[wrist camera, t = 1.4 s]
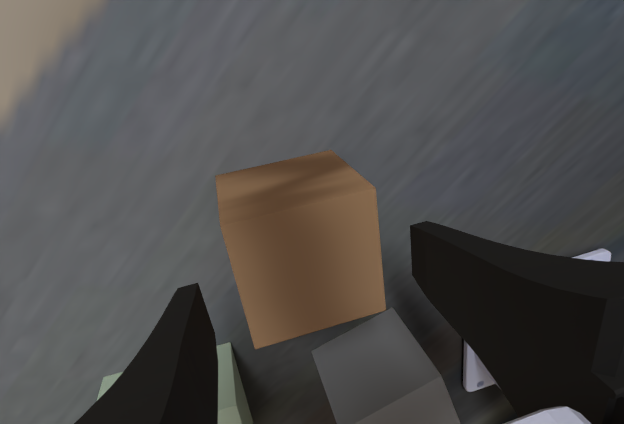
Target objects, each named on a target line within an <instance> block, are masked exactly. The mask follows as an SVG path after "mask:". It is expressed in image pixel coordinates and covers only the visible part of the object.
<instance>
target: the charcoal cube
mask: <svg viewBox="0 0 624 424" xmlns="http://www.w3.org/2000/svg"><path fill="white" fill-rule="evenodd" d="M311 352H312V355H313V358H314V361H315V363H316V366H317V369H318V372H319V375H320V378H321V380H322V383H323V386H324V389H325V392H326V394H327V397H328V400H329V403H330V406H331V409H332V411H333V414H334V417H335V420H336V423H337V424H460V421H459V419H458V416H457V414H456V411H455V409H454V406H453V403H452V401H451V398H450V396H449V393H448V391H447V388H446V386H445V383H444V381H443V378H442V376H441V374H440V373H439V371H438V370H437V369H436V367H435V366H434V364H433V363H432V362H431V360H430V359H429V357H428V356H427V355H426V353H425V352H424V350H423V349H422V348H421V346H420V345H419V343H418V342H417V341H416V339H415V338H414V336H413V335H412V334H411V332H410V331H409V329H408V328H407V327H406V325H405V324H404V322H403V321H402V320H401V318H400V317H399V315H398V314H397V313H396V311H395V310H394V308H393V307H392V308H390V309H388V310H386V311H384V312H383V313H381V314H379V315H377V316H375V317H373V318H372V319H370V320H368V321H366V322H364V323H362V324H360V325H359V326H357V327H355V328H353V329H351V330H349V331H347V332H346V333H344V334H342V335H340V336H338V337H336V338H334V339H333V340H331V341H329V342H327V343H325V344H323V345H321V346H320V347H318V348H316V349H314V350H312V351H311Z"/></svg>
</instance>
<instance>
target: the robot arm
mask: <svg viewBox="0 0 624 424" xmlns="http://www.w3.org/2000/svg"><path fill="white" fill-rule="evenodd" d="M410 234H411V256H412V275H413V277H414V278H415V280H416V282H417V283H418V285H419V286H420V288H421V289H422V291H423V292H424V294H425V295H426V297H427V298H428V299H429V301H430V302H431V303H432V304H433V305H434V306H435V308H436V309H437V310H438V311H439V312H440V313H441V314H442V316H443V317H444V318H445V319H446V320H447V321H448V322H449V323H450V325H451V326H452V327H453V328H454V329H455V330H456V331H457V333H458V334H459V335H460V336H461V337H462V338H463V339H464V363H463V387H464V388H465V389H466V391H468V392H473V391H476V390H479V389H482V388H484V387H487V386H490V385H493V384H496V385H497V386H498V387H499V388H500V389H501V391H502V392H503V393H504V395H505V396H506V398H507V399H508V401H509V402H510V404H511V405H512V407H513V408H514V410H515V411H516V413H517V414H518V416H519V418H517V419H514V420H512V421H509V422H507V423H504V424H624V262H610V259H611V253H610V252H609V251H607V250H605V249H599V250H595V251H592V252H589V253H585V254H582V255H579V256H576V257H572V258H570V257H562V256H556V255H549V254H544V253H539V252H534V251H529V250H524V249H520V248H516V247H512V246H508V245H504V244H501V243H497V242H493V241H490V240H486V239H483V238H480V237H477V236H474V235H470V234H467V233H464V232H461V231H458V230H455V229H452V228H449V227H446V226H443V225H439V224H436V223H432V222H428V221H425V222H422V223H418V224H414V225H410ZM74 424H218V355H217V347H216V339H215V332H214V329H213V326H212V323H211V320H210V317H209V315H208V312H207V309H206V306H205V303H204V300H203V297H202V294H201V291H200V288H199V285H198V283H196V284H192V285H188V286H184V287H181V288H178V289H177V291H176V292H175V294H174V295H173V297H172V299H171V301H170V303H169V304H168V306H167V308H166V310H165V311H164V313H163V315H162V317H161V318H160V320H159V321H158V323H157V325H156V326H155V328H154V330H153V331H152V333H151V334H150V336H149V338H148V339H147V341H146V342H145V343H144V345H143V346H142V348H141V349H140V351H139V352H138V353H137V355H136V356H135V358H134V359H133V360H132V362H131V363H130V364H129V366H128V367H127V368H126V369H125V370H124V372H123V373H122V374H121V375H120V376H119V378H118V379H117V380H116V381H115V382H114V383H113V385H112V386H111V387H110V388H109V389H108V390H107V391H106V392H105V393H104V394H103V395H102V396H101V397H100V398H99V399H98V400H97V401H96V402H95V404H94V405H93V406H92V407H91V408H90V409H89V410H88V411H87V412H86V413H85V414H84V415H83V416H82V417H81V418H80V419H79V420H78V421H76V422H75V423H74Z"/></svg>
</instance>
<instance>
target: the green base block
mask: <svg viewBox="0 0 624 424" xmlns="http://www.w3.org/2000/svg"><path fill="white" fill-rule="evenodd" d="M216 347H217V355H218V424H253V420H252V417H251V413H250V410H249V406H248V403H247V399H246V395H245V392H244V388H243V385H242V381H241V378H240V374H239V371H238V367H237V364H236V360H235V357H234V353H233V350H232V346H231V343H230V342H229V343H225V344H222V345H218V346H216ZM122 373H123V372H121V373H117V374H113V375H110V376H106V377H104V378H103V381H102V385H101V388H100V392H99V395H98V398H97V400H98V399H99V398H100V397H101V396H102V395H103V394H104V393H105V392H106V391H107V390H108V389H109V388H110V387H111V386H112V385H113V383H114V382H115V381H116V380H117V379H118V378H119V376H120V375H121V374H122Z"/></svg>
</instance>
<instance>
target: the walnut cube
mask: <svg viewBox="0 0 624 424" xmlns="http://www.w3.org/2000/svg"><path fill="white" fill-rule="evenodd" d="M215 177H216V187H217V197H218V208H219V218H220V227H221V230H222V234H223V237H224V241H225V244H226V248H227V251H228V255H229V258H230V262H231V266H232V269H233V273H234V276H235V280H236V283H237V287H238V290H239V294H240V297H241V301H242V305H243V308H244V312H245V315H246V319H247V322H248V326H249V329H250V333H251V336H252V340H253V343H254V347H255V349H258V348H261V347H265V346H268V345H271V344H275V343H278V342H281V341H285V340H288V339H291V338H295V337H298V336H302V335H305V334H308V333H312V332H315V331H318V330H322V329H325V328H328V327H332V326H335V325H338V324H342V323H345V322H348V321H352V320H355V319H358V318H362V317H365V316H368V315H372V314H375V313H378V312H382V311H385V310H386V305H385V294H384V282H383V270H382V258H381V247H380V235H379V223H378V211H377V200H376V188H375V187H374V186H373V185H371V184H370V183H369V182H368V181H367V180H366V179H364V178H363V177H362V176H361V175H360V174H359V173H357V172H356V171H355V170H354V169H353V168H351V167H350V166H349V165H348V164H347V163H346V162H344V161H343V160H342V159H341V158H340V157H339V156H337V155H336V154H335V153H334V152H333V151H332V150H329V151H324V152H320V153H315V154H311V155H306V156H302V157H297V158H293V159H288V160H284V161H279V162H275V163H270V164H266V165H261V166H257V167H252V168H248V169H243V170H239V171H234V172H230V173H226V174H221V175H217V176H215Z"/></svg>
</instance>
